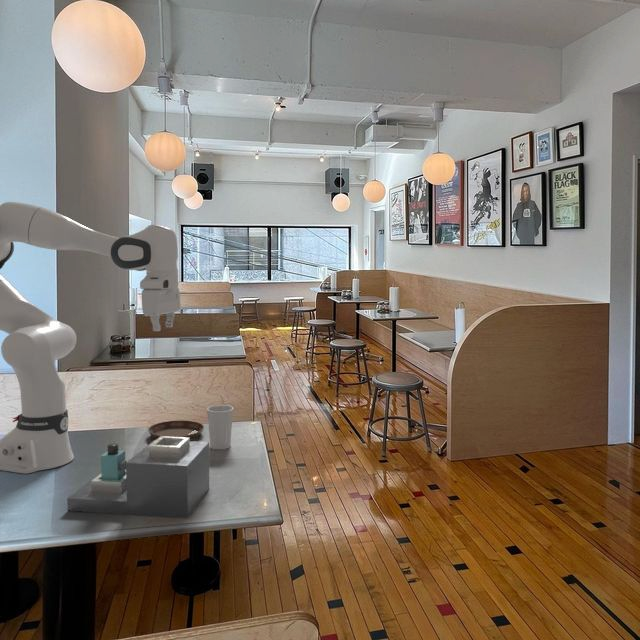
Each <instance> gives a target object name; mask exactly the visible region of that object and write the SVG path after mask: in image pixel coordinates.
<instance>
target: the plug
mask: <svg viewBox="0 0 640 640" xmlns="http://www.w3.org/2000/svg"><path fill="white" fill-rule="evenodd" d="M126 462H128V461H127V460H126V450H119V444H118V443H110V444H108V445H107V451H106V452H104V453H102V454H101V455H100V473H101V479H102V480H120V479H121V478H122V477H124V476H125V475H126V472H125V470H126Z"/></svg>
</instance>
